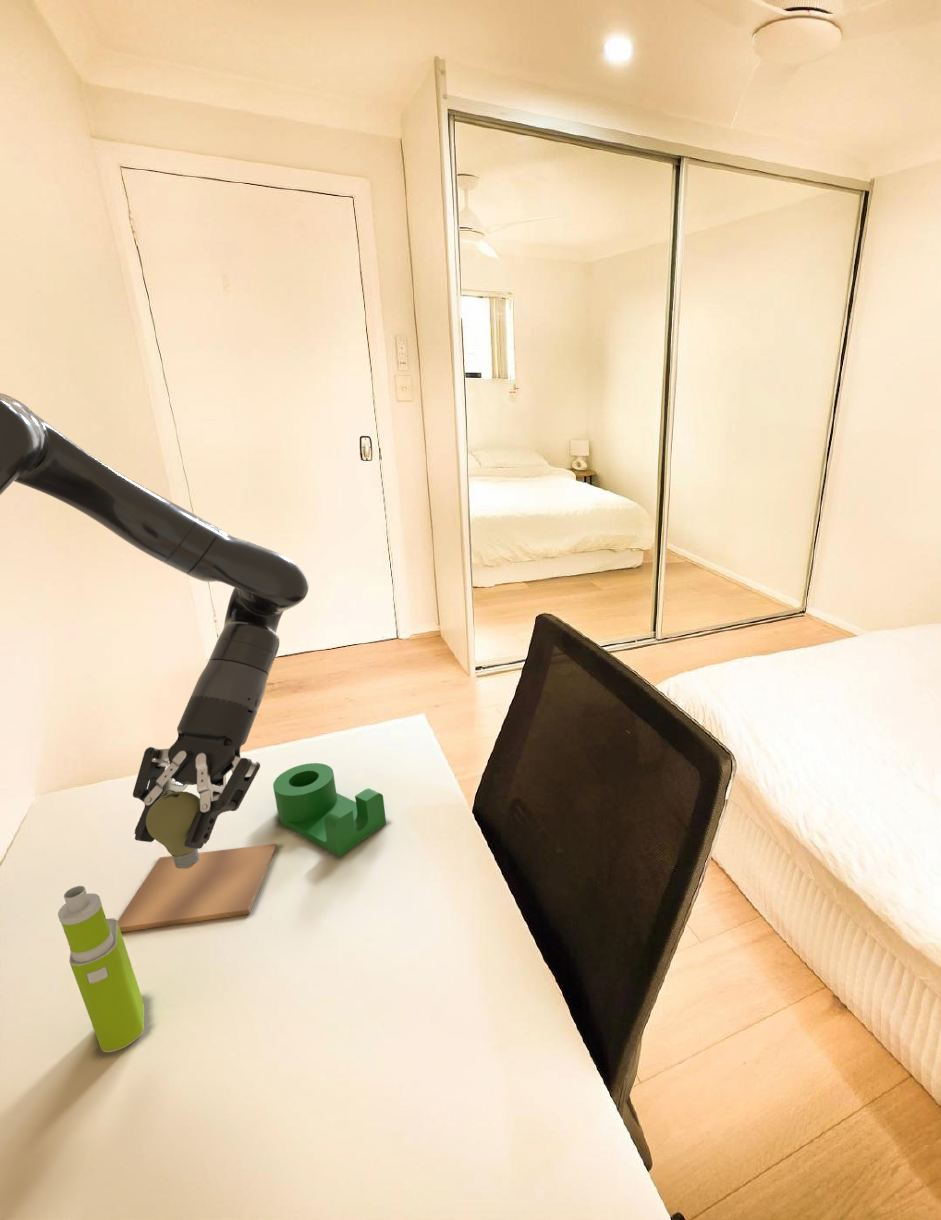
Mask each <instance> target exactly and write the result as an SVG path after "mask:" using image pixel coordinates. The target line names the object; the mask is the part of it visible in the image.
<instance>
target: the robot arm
mask: <svg viewBox="0 0 941 1220" xmlns="http://www.w3.org/2000/svg"><path fill="white" fill-rule="evenodd" d="M12 483H18V484H19V485H20V484H21V485H23V486H25V487H28V488H30V489H34V490H36V491H39V492H40V493H44V494H45V495H47V496H50V497H52V498H54V499H56V500H59V501H60V502H62V503H64V504H66V505H68V506H70V507H71V508H74V509H76V510H78V511H79V512H81V513H82V514H85V515H86V516H88V517H89V518H90V519H93V520H94V521H96V522H97V523H98V524H100V525H102V526H103V527H105V528H106V529H107V530H109V531H111V532H112V533H113V534H115V535H117V536H118V537H119V538H121V539H122V540H124V541H125V542H127V543H128V544H130V545H131V546H133V547H135V548H136V549H137V550H139V551H141V552H143V553H144V554H146V555H147V556H150V557H151V558H154V559H155V560H158V561H159V562H162V563H163V564H165V565H168V566H169V567H171V568H173V569H175V570H177V571H179V572H181V573H183V574H186V575H187V576H189V577H192V578H193V579H196V580H198V581H201V582H204V583H214V582H218V583H223V584H226V585H228V586H230V587H232V588H233V590H232V592H231V594H230V597H229V601H228V604H227V609H226V614H225V617H224V622H223V628H222V631H221V633H220V635H219V636H218V639H217V641H216V642H215V644H214V648H213V650H212V651H211V654H210V657H209V659H208V661H207V663H206V665H205V667H204V668H203V670H202V671H201V673H200V675H199V677H198V679H197V680H196V683H195V686H194V688H193V690H192V693H191V694H190V697H189V700H188V702H187V704H186V706H185V709H184V711H183V714H182V716H181V718H180V720H179V723H178V725H177V727H176V731H177V739H176V740H175V742H174V743H173V744H172V745H171V746H170V747H169V748H156V747H152V746H148V747H147V748H146V749H145V750H144V752H143V756H142V759H141V763H140V767H139V770H138V774H137V777H136V781H135V785H134V788H133V791H132V797H133V798H135V799H138V800H140V801H141V802H143V804H144V808H143V810H142V812H141V814H140V816H139V819H138V822H137V825H136V826H135V829H134V835H135V836H134V840H135V841H137V842H146V843H152V842H154V841H155V839H154V838H153V837H152V836H151V835H150V834H149V832H148V830H147V827H146V817H147V813H148V811H149V809H150V808H151V806H152V805H153V804H154V803H155V802H156V801H157V800H158V799H159V798H161V797H163V796H165V795H167V794H169V793H173V792H185V790H186V789H187V787H188V786H189V785H190V786H196V791H197V793H198V794H199V799H200V811H201V813H196V815H195V818H194V820H193V823H192V825H191V828H190V830H189V833H188V835H187V838H186V841H185V843H184V846H185V847H187V848H196V849H198V850H200V849H202V848H203V847H204V845H207V843H208V842H209V840H210V838H211V835H212V833H213V830H214V827H215V824H216V822H217V820H218V817H219V816H220V815H221V814H223V813H227V812H235V811H236V812H237V810H238V809H239V808H240V806H241V804H242V803H243V800H244V798H245V796H246V794H247V793H248V791H249V789H250V787H251V785H252V784H253V781H254V780H255V778H256V776H257V774H258V772H259V770H260V768H261V763H260V762H258V761H256V760H253V759H251V758H247V757H241V747H242V746H244V745H245V744H246V742H247V741H248V737H249V735H250V732H251V729H252V727H253V725H254V722H255V719H256V717H257V714H258V712H259V709H260V706H261V703H262V701H263V698H264V695H265V691H266V688H267V683H268V679H269V676H270V673H271V671H272V668H273V665H274V662H275V660H276V658H277V655H278V652H279V648H280V644H281V643H280V637H279V635H278V634H277V630H278V627H279V624H280V620H281V618H282V616H283V614H284V612H285V611H288V610H289V609H292V608H294V607H296V606H298V605H299V604H301V603H302V602H303V601H304V600H305V598H306V597H307V595H308V593H309V588H310V587H309V580H308V577H307V575H306V573H305V571H304V570H303V569H302V568H301V567H300V566H299V565H298V564H297V563H296V562H294V561H293V560H292V559H290V558H288V557H287V556H285V555H283V554H281V553H279V552H276V551H274V550H271V549H269V548H266V547H263V546H261V545H258V544H256V543H253V542H250V541H247V540H244V539H241V538H238V537H235V536H233V535H231V534H229V533H228V532H227V531H224V530H222V529H221V528H219V527H217V526H216V525H214V524H212V523H211V522H209V521H207V520H205V519H204V518H202V517H199V516H198V515H197V514H194V513H193V512H192V511H189V510H187V509H186V508H184V507H182V506H180V505H178V504H176V503H174V502H173V501H171V500H168V499H167V498H165V497H163V496H161V495H159V493H158V494H157V493H156V492H154V491H152V490H150V489H148V488H147V487H145V486H143V485H141V484H139V483H137V482H135V481H134V480H132V479H131V478H128V477H127V476H125V475H124V474H122V473H120V472H118V471H116V470H115V469H113V468H112V467H110V466H109V465H107V464H106V463H104V462H102V461H101V460H100V459H98V458H96V457H95V456H93V455H92V454H90V453H89V452H87V451H86V450H85V449H83V448H81V447H80V446H78V445H77V444H76V443H74V442H73V441H72V440H70V439H69V438H67V436H65V435H64V434H62V433H61V432H60V431H59V430H57V429H56V428H54V427H53V426H52V425H51V424H50V423H48V422H47V421H45V420H44V419H43V418H41V417H40V416H39V415H38V414H36V413H35V412H34V411H33V410H32V409H31V408H29V407H28V406H27V405H26V404H25V403H24V402H21V401H20V400H18V399H16V398H14V397H12V396H10V395H8V394H5V393H2V392H0V496H1V495H2V494H3V493H4V492H5V491H6V490H7V489H8V488H9V487H10V486H11V484H12ZM166 767H167V768H166ZM230 771H231V775H230V777H229V778H228V780H227V774H228V773H229V772H230Z"/></svg>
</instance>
